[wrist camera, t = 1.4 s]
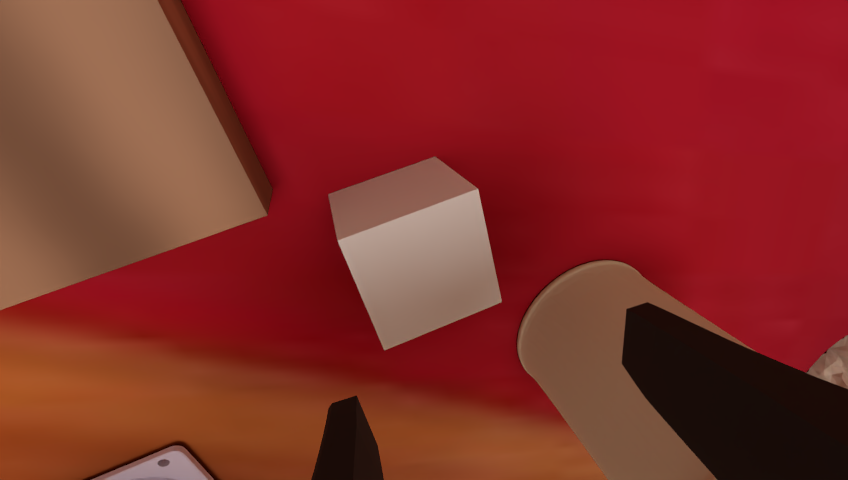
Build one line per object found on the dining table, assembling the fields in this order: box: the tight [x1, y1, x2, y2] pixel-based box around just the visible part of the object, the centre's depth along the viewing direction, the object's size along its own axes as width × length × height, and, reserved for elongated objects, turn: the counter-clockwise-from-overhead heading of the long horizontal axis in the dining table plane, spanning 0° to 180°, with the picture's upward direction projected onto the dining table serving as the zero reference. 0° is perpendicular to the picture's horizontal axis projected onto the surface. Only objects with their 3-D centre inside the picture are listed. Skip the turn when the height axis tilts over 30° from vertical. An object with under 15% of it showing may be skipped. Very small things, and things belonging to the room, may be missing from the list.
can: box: [517, 260, 756, 480], centre depth 20 cm, size 9×9×12 cm
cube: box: [328, 157, 502, 350], centre depth 16 cm, size 5×5×5 cm
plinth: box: [0, 0, 273, 310], centre depth 12 cm, size 11×11×3 cm
